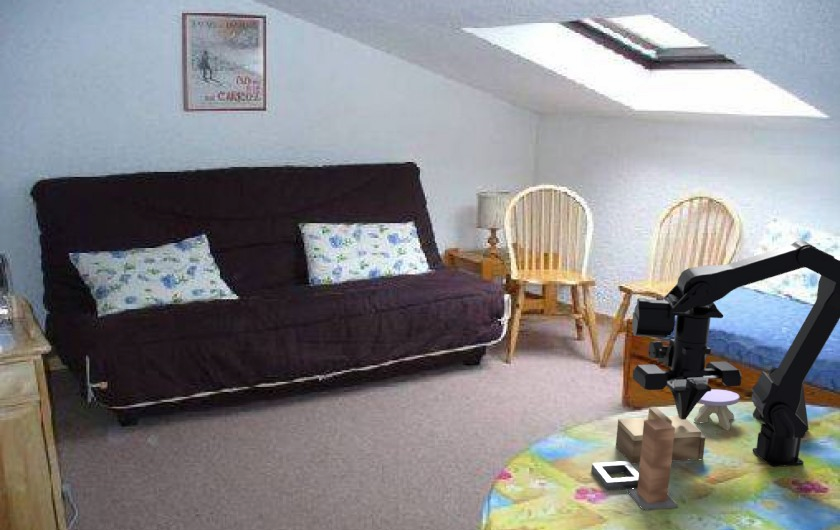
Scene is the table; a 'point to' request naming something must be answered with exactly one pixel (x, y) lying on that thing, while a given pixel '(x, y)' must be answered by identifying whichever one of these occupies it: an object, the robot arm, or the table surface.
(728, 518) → the table surface
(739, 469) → the table surface
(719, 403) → the toy table
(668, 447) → the brown rectangular block
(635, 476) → the socket
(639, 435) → the lid
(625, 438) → the tan boxy piece
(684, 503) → the table surface
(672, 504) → the felt pad
